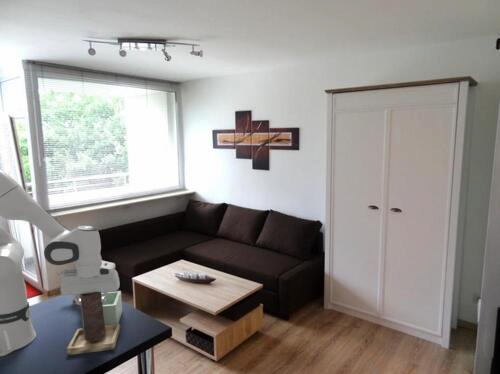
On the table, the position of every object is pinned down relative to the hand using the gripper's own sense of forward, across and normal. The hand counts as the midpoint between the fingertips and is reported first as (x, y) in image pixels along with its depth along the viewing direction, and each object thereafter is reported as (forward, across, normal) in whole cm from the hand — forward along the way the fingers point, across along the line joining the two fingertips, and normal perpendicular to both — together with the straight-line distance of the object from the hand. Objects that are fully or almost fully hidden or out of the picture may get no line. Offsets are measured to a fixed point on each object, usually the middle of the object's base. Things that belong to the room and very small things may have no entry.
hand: (92, 303), depth 127 cm
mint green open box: (+16, 0, +15) cm, 22 cm away
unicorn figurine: (+16, -18, +35) cm, 43 cm away
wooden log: (+15, 0, 0) cm, 15 cm away
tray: (+16, 0, 0) cm, 16 cm away
